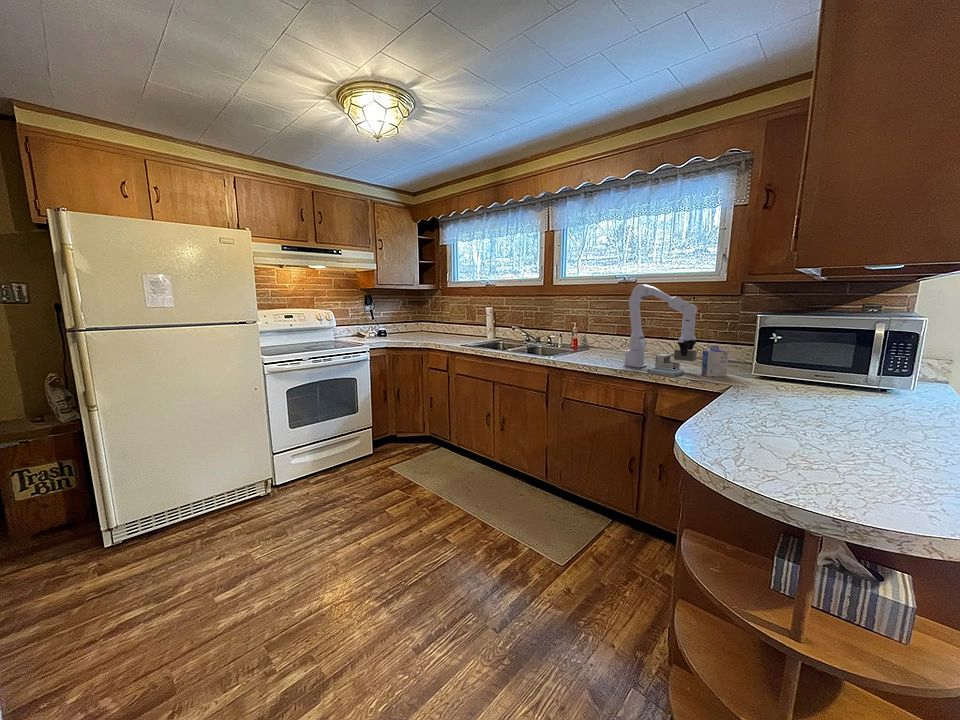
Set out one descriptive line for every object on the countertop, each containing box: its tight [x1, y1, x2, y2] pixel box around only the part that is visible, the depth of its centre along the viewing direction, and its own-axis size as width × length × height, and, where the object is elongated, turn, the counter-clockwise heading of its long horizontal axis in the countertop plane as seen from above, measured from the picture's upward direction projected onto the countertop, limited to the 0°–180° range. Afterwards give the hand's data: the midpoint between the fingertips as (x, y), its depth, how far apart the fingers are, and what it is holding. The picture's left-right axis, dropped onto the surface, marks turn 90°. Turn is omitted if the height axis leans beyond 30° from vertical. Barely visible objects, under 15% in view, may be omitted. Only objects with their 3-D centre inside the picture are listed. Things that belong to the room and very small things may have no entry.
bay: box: [654, 353, 681, 370], centre depth 205 cm, size 9×8×7 cm
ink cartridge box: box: [700, 345, 729, 378], centre depth 187 cm, size 10×6×14 cm, turn 89°
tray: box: [646, 366, 685, 378], centre depth 194 cm, size 14×9×2 cm, turn 39°
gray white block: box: [673, 348, 697, 362], centre depth 196 cm, size 9×4×5 cm, turn 39°
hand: (685, 355), depth 196 cm, fingers closed on gray white block, 4 cm apart
